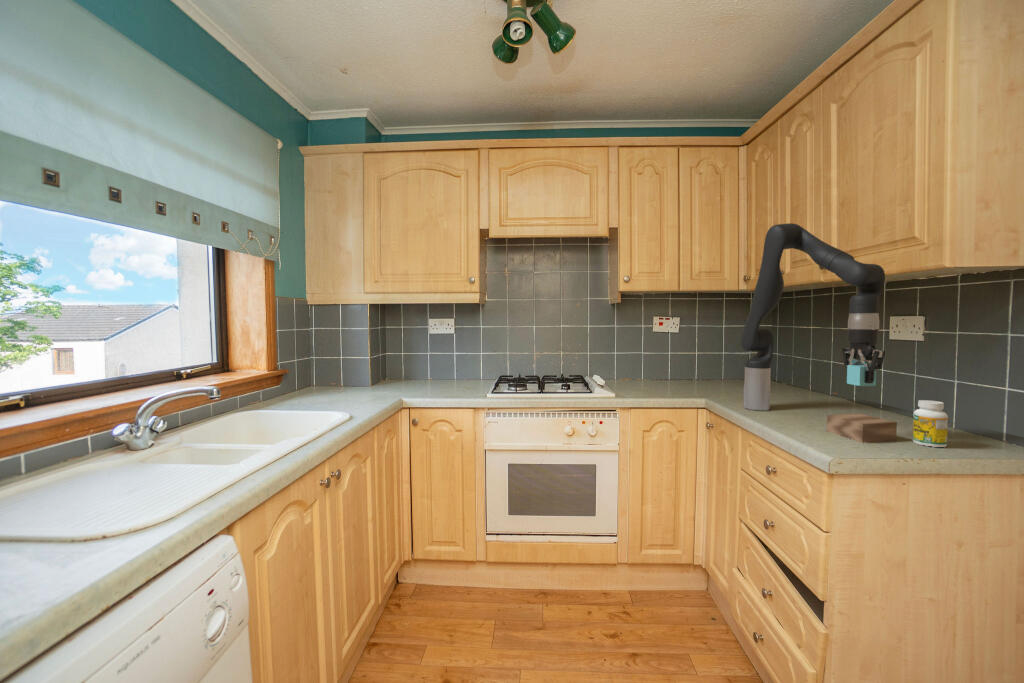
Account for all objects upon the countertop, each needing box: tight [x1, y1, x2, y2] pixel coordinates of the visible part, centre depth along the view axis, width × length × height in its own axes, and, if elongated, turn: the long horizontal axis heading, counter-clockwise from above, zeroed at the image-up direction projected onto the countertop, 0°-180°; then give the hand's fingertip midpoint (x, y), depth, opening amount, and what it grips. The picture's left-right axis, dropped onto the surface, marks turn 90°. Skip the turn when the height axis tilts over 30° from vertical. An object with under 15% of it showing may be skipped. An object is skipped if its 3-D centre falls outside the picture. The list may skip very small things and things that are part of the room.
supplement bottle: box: [912, 399, 949, 448], centre depth 124 cm, size 7×7×13 cm
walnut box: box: [826, 413, 898, 444], centre depth 133 cm, size 12×12×6 cm
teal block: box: [846, 364, 877, 387], centre depth 132 cm, size 5×5×6 cm
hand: (861, 381), depth 132 cm, fingers closed on teal block, 5 cm apart
